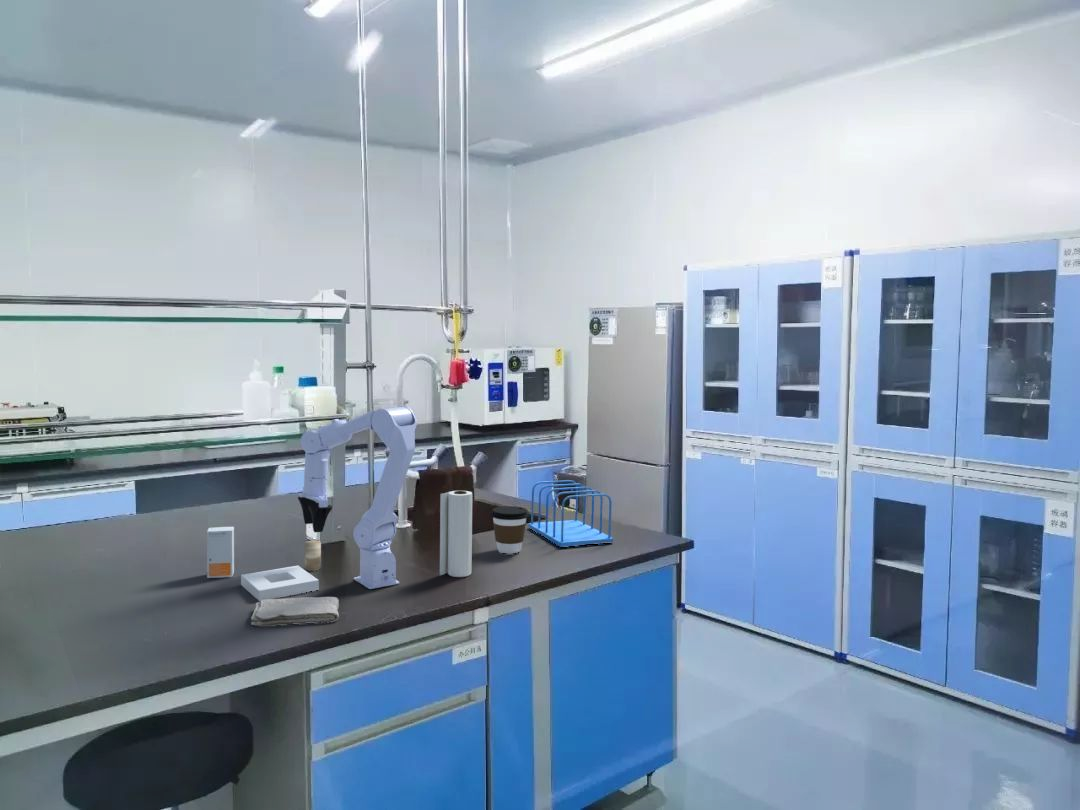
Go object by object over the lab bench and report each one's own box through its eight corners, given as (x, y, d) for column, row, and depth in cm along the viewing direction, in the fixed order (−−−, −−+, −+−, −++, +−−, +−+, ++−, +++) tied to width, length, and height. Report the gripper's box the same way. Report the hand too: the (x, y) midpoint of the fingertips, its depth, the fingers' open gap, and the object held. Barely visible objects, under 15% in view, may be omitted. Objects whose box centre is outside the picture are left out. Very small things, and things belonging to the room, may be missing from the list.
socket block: (318, 590, 189) (318, 580, 188) (259, 601, 180) (259, 590, 180) (298, 575, 200) (298, 565, 199) (241, 584, 191) (240, 574, 191)
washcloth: (256, 610, 176) (255, 596, 176) (339, 605, 180) (339, 592, 180) (249, 630, 164) (249, 615, 164) (338, 624, 169) (338, 610, 168)
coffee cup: (515, 544, 232) (516, 504, 231) (535, 553, 223) (536, 511, 222) (483, 549, 227) (483, 508, 225) (502, 558, 217) (502, 516, 216)
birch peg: (323, 569, 205) (323, 543, 204) (308, 572, 202) (308, 545, 202) (317, 565, 208) (317, 539, 207) (302, 568, 205) (302, 541, 205)
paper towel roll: (474, 572, 205) (475, 490, 203) (466, 578, 199) (467, 495, 197) (448, 569, 207) (449, 488, 205) (439, 576, 201) (440, 493, 199)
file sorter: (613, 544, 235) (615, 493, 234) (560, 549, 228) (561, 497, 227) (577, 524, 258) (578, 478, 257) (527, 529, 251) (528, 481, 250)
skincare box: (206, 579, 195) (205, 531, 194) (209, 573, 199) (208, 527, 198) (233, 577, 197) (232, 530, 196) (234, 572, 201) (234, 526, 200)
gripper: (292, 470, 207) (289, 521, 208) (308, 483, 195) (306, 537, 196) (318, 469, 210) (316, 519, 212) (337, 482, 198) (334, 534, 200)
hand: (313, 527), depth 205 cm, fingers open, 7 cm apart
